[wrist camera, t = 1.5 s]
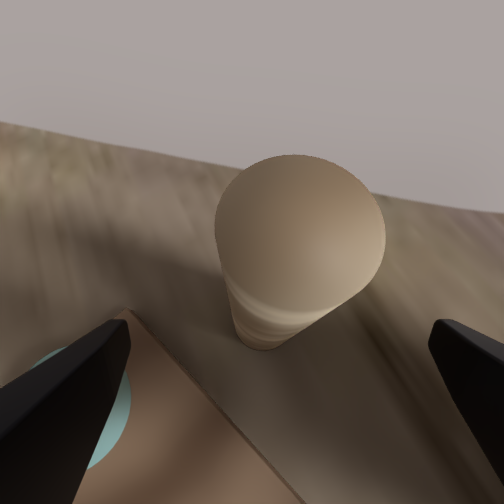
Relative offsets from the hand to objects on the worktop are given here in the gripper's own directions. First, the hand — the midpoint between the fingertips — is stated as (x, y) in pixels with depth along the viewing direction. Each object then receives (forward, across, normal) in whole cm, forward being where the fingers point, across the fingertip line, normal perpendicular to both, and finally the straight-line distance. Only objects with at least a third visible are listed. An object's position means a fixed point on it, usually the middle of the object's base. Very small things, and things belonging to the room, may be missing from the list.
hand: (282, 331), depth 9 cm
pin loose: (+8, 0, +6) cm, 9 cm away
